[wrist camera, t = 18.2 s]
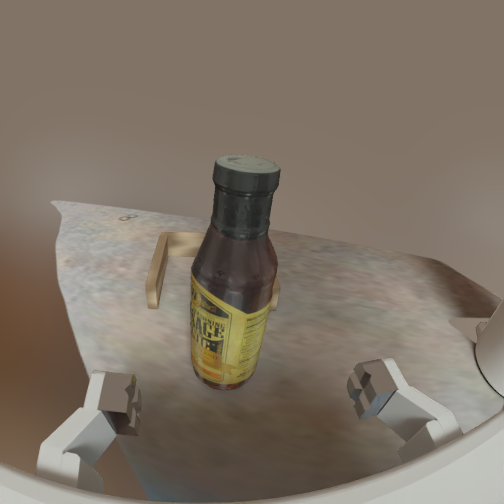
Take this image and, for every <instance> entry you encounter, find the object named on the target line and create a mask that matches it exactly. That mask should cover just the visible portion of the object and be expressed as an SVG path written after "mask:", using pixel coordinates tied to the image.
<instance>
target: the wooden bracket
mask: <svg viewBox="0 0 504 504" xmlns="http://www.w3.org/2000/svg"><path fill="white" fill-rule="evenodd" d="M205 235H206V233H185V232H161V233H160V236H159V239H158V242H157V246H156V249H155V252H154V256H153V259H152V263H151V266H150V270H149V273H148V277H147V280H146V284H145V287H146V296H147V304H148V308H150V309H158V305H159V299H160V294H161V289H162V283H163V278H164V273H165V268H166V264H167V259H168V256H188V257H196V255H197V253H198V251H199V248H200V246H201V244H202V242H203V239H204V237H205ZM279 291H280V286H279V283H278V280H277V277H276V278H275V281H274V285H273V297H272V301H271V305H270V310H269V311H271V310H276V306H277V301H278V296H279Z"/></svg>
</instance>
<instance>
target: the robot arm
mask: <svg viewBox="0 0 504 504" xmlns="http://www.w3.org/2000/svg"><path fill="white" fill-rule="evenodd" d="M476 332H477V336H478V341H477V344H476V358H477V362H478V364H479V367H480V369H481V371H482V373H483V375H484V376H485V378H486V379H487V381H488V382H489V383H490V384H491V385H492V387H493V388H494V389H495V390H496V391H497V392H499V393H500V394H501V395H502V396H504V298H503V299H502V301H501V303H500V304H499V306H498V307H497V309H496V310H495V312H494V313H493V315H492V316H491V318H490V319H489V321H488V322H480V323H479V324H478V326H477V327H476ZM354 371H355V372H354V373H353V374H352V375H351V376H350V377H349V379H348V383H347V389H348V393H349V396H350V398H352V399H353V400H354V401H355V404H354V408H355V411H356V413H357V416H358V418H359V419H363V418H367V417H372V416H376V415H377V417H378V418H379V419H380V420H382V421H383V422H384V423H385V424H386V425H387V426H389V427H390V428H391V429H392V430H393V431H394V432H395V433H397V434H398V435H399V436H400V437H401V438H403V439H404V440H405V441H406V443H405V444H404V445H403V446H402V447H401V448H400V449H399V451H398V452H399V455H400V457H401V460H402V462H403V464H401V465H398V466H396V467H393V468H391V469H388V470H385V471H382V472H380V473H377V474H374V475H371V476H368V477H365V478H362V479H358V480H355V481H352V482H348V483H345V484H341V485H337V486H333V487H329V488H325V489H321V490H316V491H312V492H307V493H302V494H296V495H291V496H284V497H278V498H271V499H263V500H253V501H242V502H226V503H175V502H159V501H148V500H139V499H131V498H124V497H118V496H112V495H106V494H103V484H104V479H103V477H102V476H101V475H100V474H98V473H97V472H96V471H95V470H94V469H93V468H92V467H93V465H94V464H95V463H96V462H97V460H98V459H99V458H100V456H101V455H102V454H103V453H104V451H105V450H106V449H107V447H108V446H109V445H110V443H111V442H112V441H113V440H114V438H115V437H116V436H117V435H116V434H121V435H133V436H138V435H139V424H140V420H139V418H138V415H137V414H138V413H139V412H140V411H141V392H140V388H139V387H138V386H137V385H136V377H135V375H134V374H123V373H113V372H105V371H96V370H94V371H93V373H92V375H91V378H90V382H89V386H88V390H87V395H86V398H85V403H84V407H83V408H81V407H80V408H79V409H77V410H76V411H75V412H74V413H73V414H72V415H71V416H70V417H69V418H68V419H67V420H66V421H65V422H64V423H63V424H62V425H61V426H60V427H59V428H58V429H56V430H55V431H54V432H53V433H52V434H51V435H50V436H49V437H48V438H47V439H46V440H45V441H44V442H43V443H42V444H41V447H40V452H39V457H38V462H37V467H36V473H35V475H32V474H30V473H27V472H24V471H22V470H19V469H16V468H14V467H12V466H9V465H7V464H5V463H2V462H0V504H504V409H503V410H501V411H500V412H499V413H497V414H496V415H494V416H493V417H491V418H490V419H488V420H486V421H485V422H483V423H482V424H480V425H479V426H477V427H475V428H474V429H472V430H470V431H468V432H467V433H465V434H463V432H462V430H461V428H460V426H459V425H458V423H457V421H456V419H455V417H454V415H453V414H452V412H451V411H450V410H448V409H447V408H445V407H444V406H442V405H440V404H439V403H437V402H436V401H434V400H432V399H431V398H429V397H428V396H426V395H425V394H423V393H421V392H420V391H418V390H417V389H415V388H414V387H412V386H411V387H409V386H408V384H407V382H406V381H405V379H404V377H403V375H402V374H401V372H400V370H399V368H398V367H397V365H396V363H395V361H394V360H393V359H392V358H391V357H389V358H384V359H377V360H372V361H367V362H362V363H358V364H357V365H356V366H355V368H354Z"/></svg>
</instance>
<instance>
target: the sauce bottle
mask: <svg viewBox="0 0 504 504" xmlns="http://www.w3.org/2000/svg"><path fill="white" fill-rule="evenodd" d="M279 178H280V167H279V166H278V165H277V164H276V163H274V162H271V161H268V160H266V159H263V158H258V157H251V156H243V155H229V156H223V157H220V158H218V159H217V160H216V162H215V167H214V173H213V181H214V184H215V194H214V205H213V214H212V217H211V223H210V226H209V228H208V230H207V233H206V235H205V237H204V239H203V242H202V244H201V246H200V248H199V251H198V253H197V255H196V258H195V260H194V262H193V265H192V267H191V303H190V306H191V307H190V312H191V359H192V363H193V368H194V371H195V373H196V376H198V378H199V379H200V380H201V381H202V382H204V383H205V384H207V385H209V386H210V387H212V388H214V389H219V390H223V389H235V388H238V387H240V386H242V385H243V384H245V383H246V382H247V381H248V380H249V378H250V377H251V376H252V375H253V373H254V370H255V368H256V364H257V360H258V356H259V352H260V348H261V344H262V340H263V336H264V331H265V327H266V323H267V318H268V314H269V310H270V305H271V301H272V297H273V285H274V281H275V278H276V273H277V265H278V263H277V256H276V253H275V251H274V247H273V246H272V243H271V241H270V239H269V237H268V228H269V225H270V221H269V217H270V211H271V205H272V199H273V194H274V192H275V190H276V189H277V187H278V185H279Z"/></svg>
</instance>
